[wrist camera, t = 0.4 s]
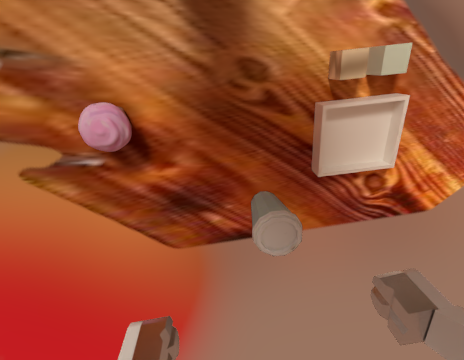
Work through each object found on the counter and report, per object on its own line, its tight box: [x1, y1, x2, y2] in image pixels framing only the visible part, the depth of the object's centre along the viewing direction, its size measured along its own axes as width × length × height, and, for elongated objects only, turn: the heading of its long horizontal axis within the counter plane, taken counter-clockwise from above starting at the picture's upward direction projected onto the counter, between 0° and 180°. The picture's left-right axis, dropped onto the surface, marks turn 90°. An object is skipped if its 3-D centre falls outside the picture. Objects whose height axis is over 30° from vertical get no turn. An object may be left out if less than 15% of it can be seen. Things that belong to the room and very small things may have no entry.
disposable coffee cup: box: [251, 191, 302, 256], centre depth 54 cm, size 11×11×15 cm
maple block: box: [328, 47, 370, 80], centre depth 46 cm, size 5×5×5 cm
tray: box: [312, 93, 410, 177], centre depth 53 cm, size 16×18×4 cm
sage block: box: [366, 43, 412, 76], centre depth 46 cm, size 5×5×5 cm
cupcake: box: [78, 103, 132, 152], centre depth 45 cm, size 9×9×10 cm
